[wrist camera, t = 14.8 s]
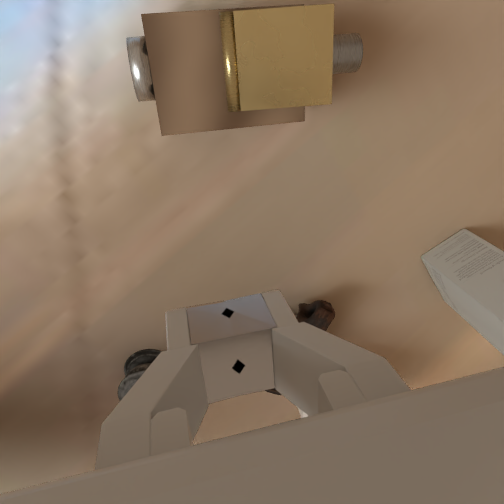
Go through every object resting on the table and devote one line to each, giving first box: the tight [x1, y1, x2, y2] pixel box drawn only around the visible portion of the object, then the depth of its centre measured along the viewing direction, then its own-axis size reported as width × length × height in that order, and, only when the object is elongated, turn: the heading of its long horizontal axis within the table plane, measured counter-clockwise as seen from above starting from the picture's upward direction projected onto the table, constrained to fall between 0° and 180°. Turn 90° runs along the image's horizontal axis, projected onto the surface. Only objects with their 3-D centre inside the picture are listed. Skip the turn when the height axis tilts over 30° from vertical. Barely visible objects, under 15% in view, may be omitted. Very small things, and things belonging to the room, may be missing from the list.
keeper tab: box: [219, 4, 334, 112], centre depth 24 cm, size 7×6×1 cm
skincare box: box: [421, 229, 504, 355], centre depth 39 cm, size 8×6×15 cm
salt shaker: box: [118, 349, 162, 401], centre depth 38 cm, size 6×6×12 cm
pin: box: [127, 33, 363, 102], centre depth 28 cm, size 16×4×4 cm, turn 94°
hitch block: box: [141, 5, 305, 136], centre depth 28 cm, size 10×7×7 cm
